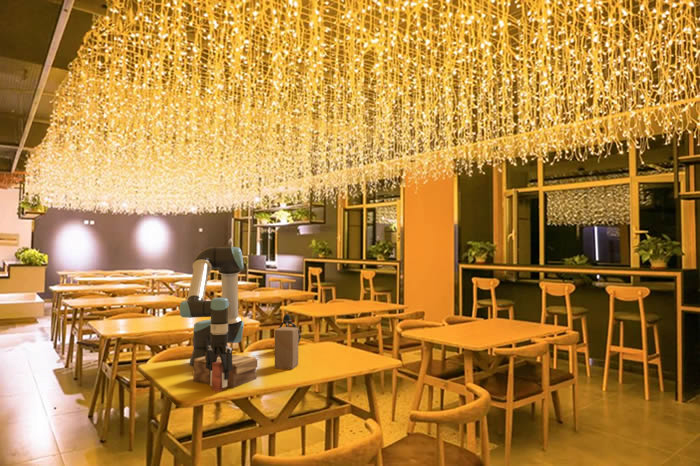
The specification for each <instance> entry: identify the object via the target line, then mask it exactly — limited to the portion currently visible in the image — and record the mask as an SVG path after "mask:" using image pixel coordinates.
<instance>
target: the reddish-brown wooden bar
mask: <svg viewBox="0 0 700 466" xmlns="http://www.w3.org/2000/svg"><path fill="white" fill-rule="evenodd" d="M222 372H224V371H223V367H222V362H221V361H217V362H214V363H212V386H211V390H212V391H213V392H223V391H225V390H226V388H227V387H224V388H222Z"/></svg>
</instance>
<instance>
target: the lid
mask: <svg viewBox="0 0 700 466" xmlns="http://www.w3.org/2000/svg"><path fill="white" fill-rule="evenodd" d="M222 355H224V354H222ZM194 361H197V362H204V363H206V353H205V356H203V357H199V358H196V359H194ZM217 361H221V358H220V357H219V355H218V357H217ZM217 361H216V362H217ZM232 366H234V367H235V375H238V374H240V373H243V372H246V371H249V370H251V369H254V368H256V369H257V368H258V359H257V358H256V357H255V356H245V355H238V354H232Z"/></svg>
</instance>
